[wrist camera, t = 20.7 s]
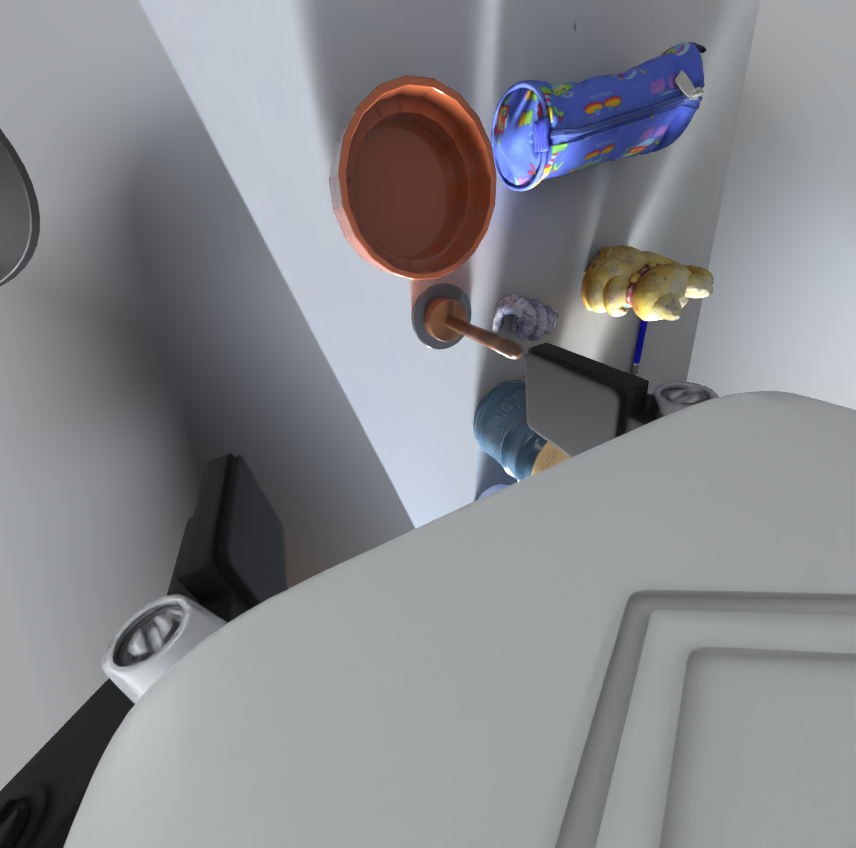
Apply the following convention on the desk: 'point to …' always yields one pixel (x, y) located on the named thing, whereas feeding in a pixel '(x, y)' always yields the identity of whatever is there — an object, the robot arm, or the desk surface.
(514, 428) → the canister
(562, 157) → the pencil case
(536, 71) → the desk surface
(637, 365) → the pencil
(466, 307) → the grey round base
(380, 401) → the desk surface
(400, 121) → the mixing bowl
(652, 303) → the decorative figurine
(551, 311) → the seashell
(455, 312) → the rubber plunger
